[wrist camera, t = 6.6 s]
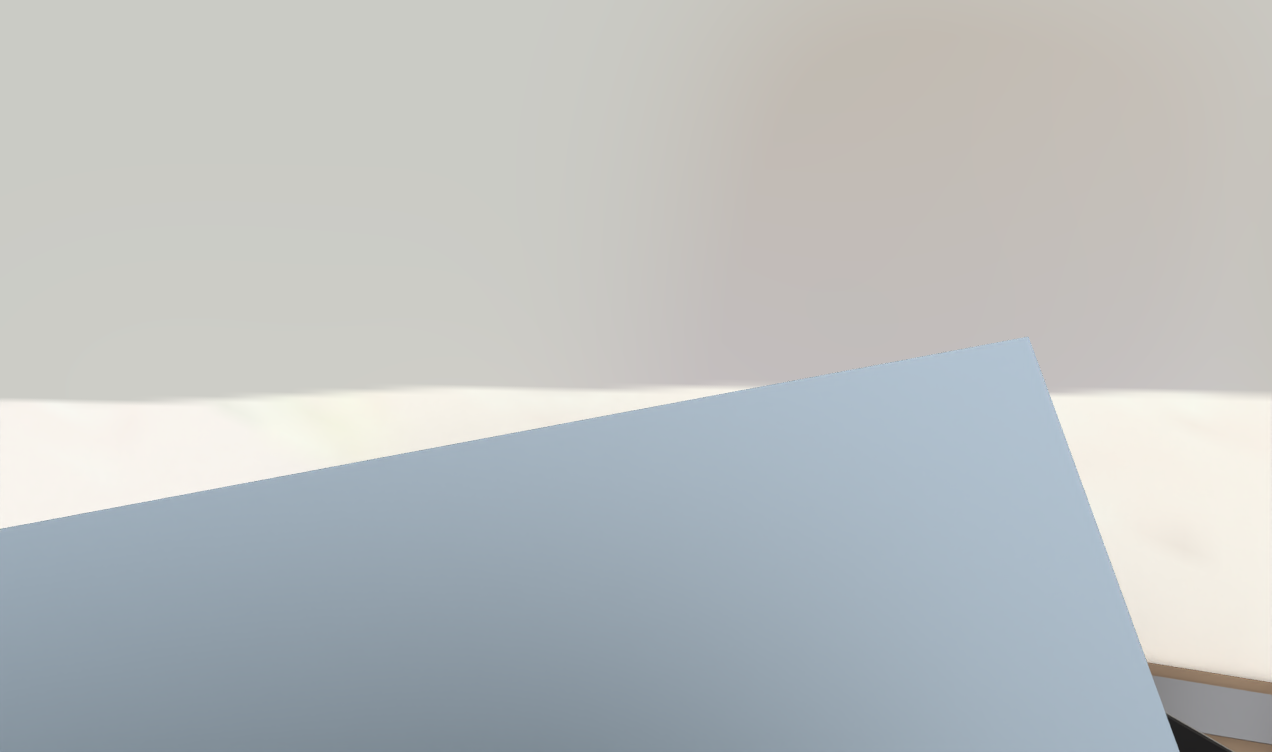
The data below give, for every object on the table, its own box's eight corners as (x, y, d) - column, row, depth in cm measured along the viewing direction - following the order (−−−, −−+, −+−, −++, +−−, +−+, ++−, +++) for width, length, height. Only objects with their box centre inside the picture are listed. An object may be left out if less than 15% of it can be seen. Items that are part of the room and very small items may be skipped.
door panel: (414, 838, 14) (-931, 1913, 2) (397, 651, 15) (-596, 638, 3) (767, 764, 14) (1390, 1328, 2) (727, 585, 15) (1026, 337, 3)
